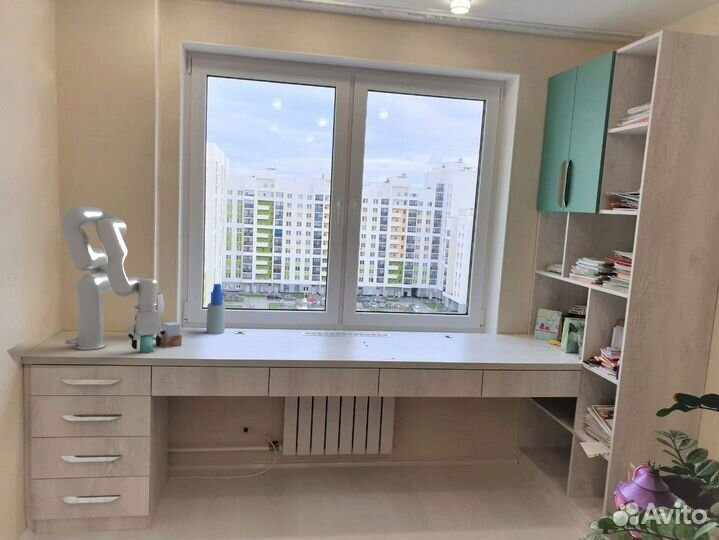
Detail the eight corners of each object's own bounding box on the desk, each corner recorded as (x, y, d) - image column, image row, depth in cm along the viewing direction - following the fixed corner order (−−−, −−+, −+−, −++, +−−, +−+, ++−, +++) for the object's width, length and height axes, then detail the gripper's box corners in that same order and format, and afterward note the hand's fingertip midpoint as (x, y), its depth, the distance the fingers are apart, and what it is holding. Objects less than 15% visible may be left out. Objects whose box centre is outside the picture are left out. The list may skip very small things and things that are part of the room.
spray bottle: (205, 333, 254) (207, 284, 251) (207, 329, 263) (209, 282, 260) (223, 334, 256) (225, 285, 253) (225, 330, 264) (227, 283, 262)
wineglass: (167, 335, 245) (168, 293, 243) (158, 339, 236) (159, 295, 234) (150, 334, 246) (151, 291, 244) (140, 338, 237) (141, 294, 235)
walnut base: (165, 347, 224) (166, 336, 224) (159, 344, 230) (160, 333, 229) (181, 346, 229) (181, 335, 229) (175, 342, 234) (175, 332, 234)
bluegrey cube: (167, 336, 225) (167, 325, 224) (162, 333, 229) (162, 323, 228) (179, 335, 229) (179, 324, 228) (174, 332, 233) (174, 322, 232)
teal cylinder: (142, 353, 213) (142, 337, 212) (138, 351, 216) (138, 334, 215) (154, 352, 216) (154, 336, 215) (149, 349, 220) (150, 333, 219)
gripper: (129, 310, 206) (128, 352, 207) (171, 308, 217) (169, 346, 219) (123, 307, 211) (122, 347, 213) (164, 305, 223) (163, 343, 224)
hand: (146, 347), depth 216 cm, fingers open, 9 cm apart
